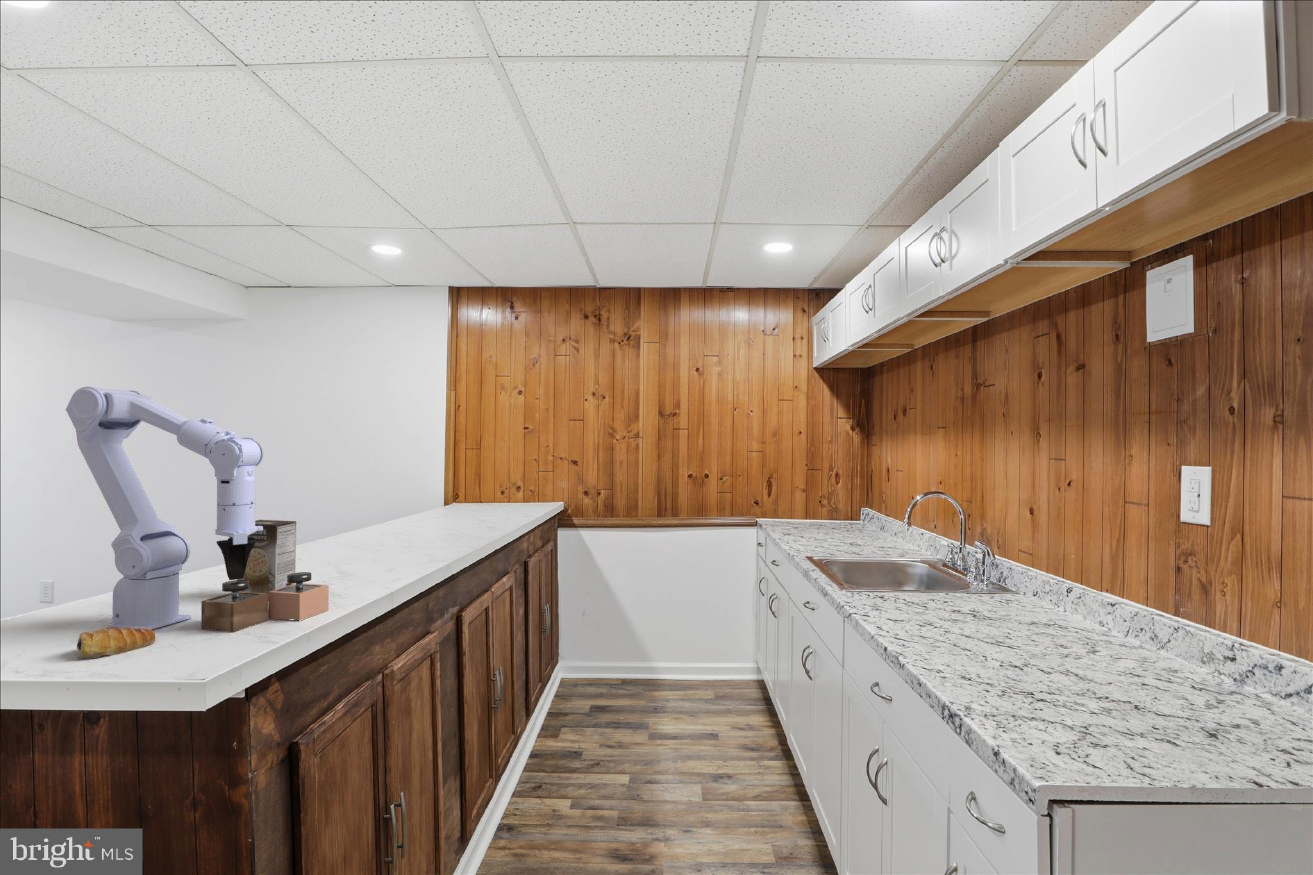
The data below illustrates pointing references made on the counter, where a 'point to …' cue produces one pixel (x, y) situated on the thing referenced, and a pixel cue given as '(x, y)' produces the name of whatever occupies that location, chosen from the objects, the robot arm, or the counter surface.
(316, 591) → the box
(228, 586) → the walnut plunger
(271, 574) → the coffee box
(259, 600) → the box
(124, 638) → the pastry
